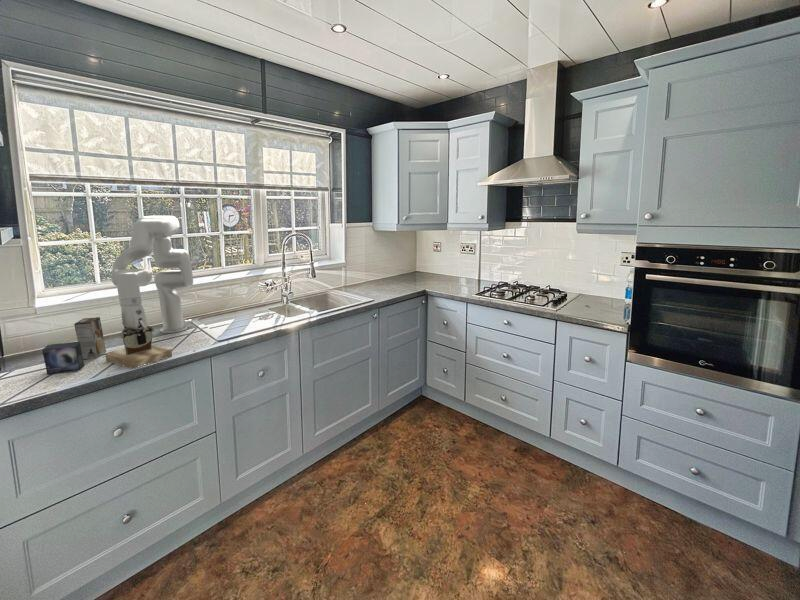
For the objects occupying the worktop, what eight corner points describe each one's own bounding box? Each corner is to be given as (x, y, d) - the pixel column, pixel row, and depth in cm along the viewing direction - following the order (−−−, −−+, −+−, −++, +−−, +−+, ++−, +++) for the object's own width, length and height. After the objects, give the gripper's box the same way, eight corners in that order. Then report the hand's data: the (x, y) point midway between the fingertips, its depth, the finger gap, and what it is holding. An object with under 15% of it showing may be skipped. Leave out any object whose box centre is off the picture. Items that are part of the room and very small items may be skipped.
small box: (46, 375, 154) (40, 349, 152) (52, 369, 160) (47, 344, 158) (80, 370, 158) (75, 345, 156) (85, 365, 164) (80, 340, 162)
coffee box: (89, 352, 179) (83, 318, 175) (106, 351, 180) (100, 316, 177) (80, 359, 170) (73, 323, 167) (98, 358, 172) (91, 322, 168)
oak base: (145, 349, 183) (144, 342, 182) (172, 356, 173) (171, 349, 173) (106, 360, 169) (105, 353, 168) (133, 368, 160) (132, 361, 159)
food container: (148, 343, 178) (146, 322, 175) (155, 348, 175) (153, 327, 172) (116, 351, 168) (114, 329, 165) (123, 356, 165) (121, 334, 162)
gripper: (152, 301, 165) (158, 343, 169) (128, 297, 173) (134, 337, 177) (133, 305, 158) (140, 348, 162) (109, 301, 166) (116, 342, 170)
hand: (137, 342), depth 170 cm, fingers open, 6 cm apart
